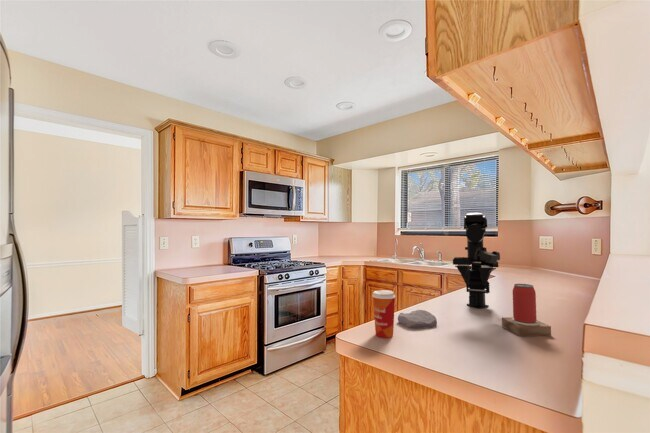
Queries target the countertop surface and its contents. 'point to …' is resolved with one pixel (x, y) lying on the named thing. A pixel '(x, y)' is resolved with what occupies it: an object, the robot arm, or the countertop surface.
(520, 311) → the beer can
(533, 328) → the walnut pedestal
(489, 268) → the robot arm
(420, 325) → the stone block
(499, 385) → the countertop surface
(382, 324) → the paper cup
